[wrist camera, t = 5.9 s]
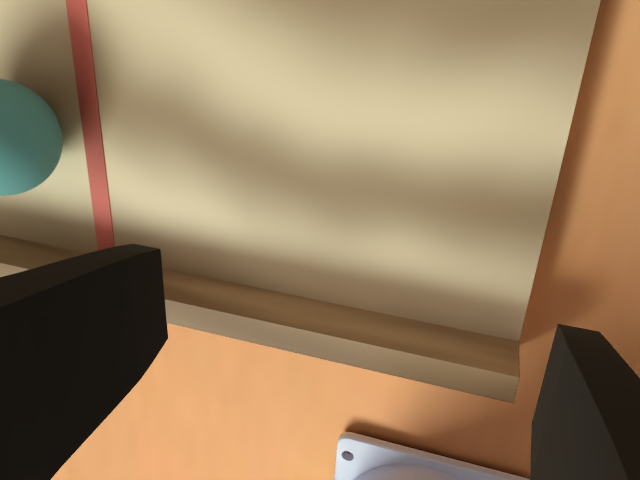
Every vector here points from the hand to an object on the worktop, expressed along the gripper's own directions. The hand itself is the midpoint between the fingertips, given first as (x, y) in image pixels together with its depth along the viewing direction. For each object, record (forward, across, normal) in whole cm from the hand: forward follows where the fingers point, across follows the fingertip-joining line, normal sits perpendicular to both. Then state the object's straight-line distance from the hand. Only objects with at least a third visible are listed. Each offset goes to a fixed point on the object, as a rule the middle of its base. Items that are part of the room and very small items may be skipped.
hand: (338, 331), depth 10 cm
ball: (+7, +14, 0) cm, 16 cm away
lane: (+10, +10, -1) cm, 14 cm away
